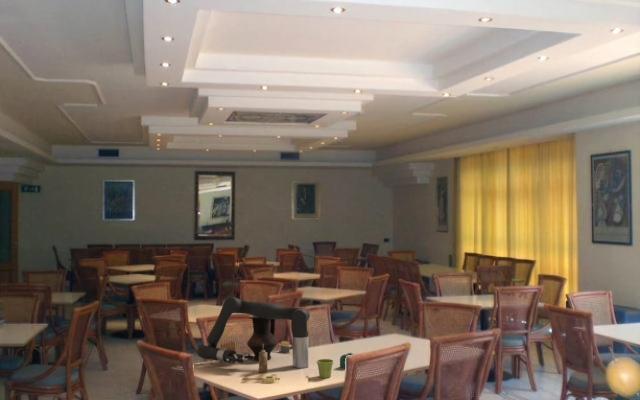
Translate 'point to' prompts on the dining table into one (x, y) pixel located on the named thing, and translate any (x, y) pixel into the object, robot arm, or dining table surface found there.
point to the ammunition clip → (228, 345)
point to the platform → (285, 346)
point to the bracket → (343, 360)
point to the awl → (263, 361)
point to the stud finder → (269, 379)
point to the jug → (262, 336)
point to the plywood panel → (258, 378)
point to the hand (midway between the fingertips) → (248, 359)
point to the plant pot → (325, 367)
